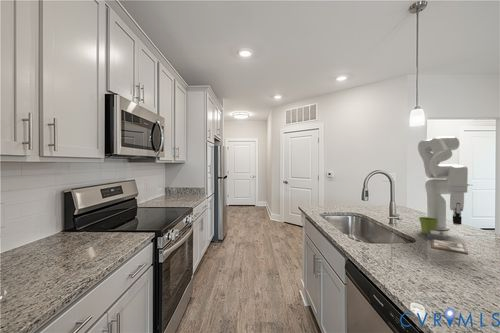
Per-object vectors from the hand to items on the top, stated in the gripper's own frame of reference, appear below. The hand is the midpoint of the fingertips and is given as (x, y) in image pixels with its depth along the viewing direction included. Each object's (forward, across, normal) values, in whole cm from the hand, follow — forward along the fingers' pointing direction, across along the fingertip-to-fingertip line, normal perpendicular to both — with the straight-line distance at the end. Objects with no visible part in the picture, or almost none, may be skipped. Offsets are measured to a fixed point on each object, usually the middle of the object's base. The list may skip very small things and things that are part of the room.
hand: (456, 222), depth 122 cm
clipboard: (+9, +14, -4) cm, 17 cm away
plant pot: (+11, -8, -12) cm, 18 cm away
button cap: (+9, +1, -9) cm, 12 cm away
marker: (+1, 0, 0) cm, 1 cm away
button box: (+10, +2, -9) cm, 14 cm away
